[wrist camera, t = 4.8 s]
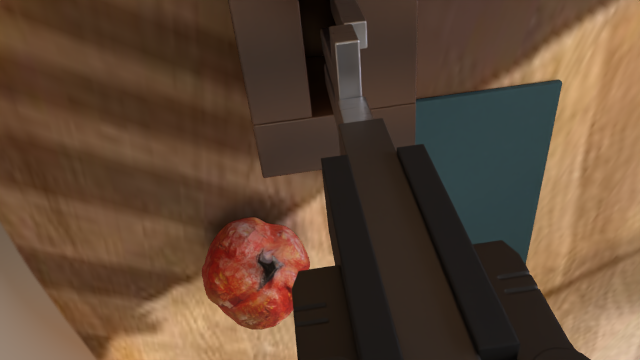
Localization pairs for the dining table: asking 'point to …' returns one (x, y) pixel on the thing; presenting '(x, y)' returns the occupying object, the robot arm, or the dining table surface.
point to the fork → (390, 205)
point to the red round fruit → (254, 271)
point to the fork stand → (321, 80)
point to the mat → (492, 156)
